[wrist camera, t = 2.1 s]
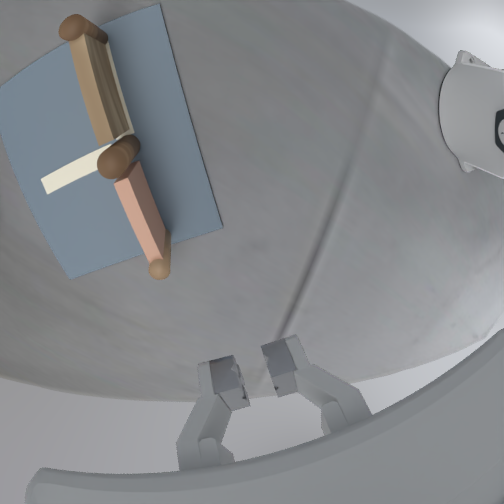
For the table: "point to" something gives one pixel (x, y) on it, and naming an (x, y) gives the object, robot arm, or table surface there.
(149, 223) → the fence section
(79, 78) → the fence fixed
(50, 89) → the board
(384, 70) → the table surface
